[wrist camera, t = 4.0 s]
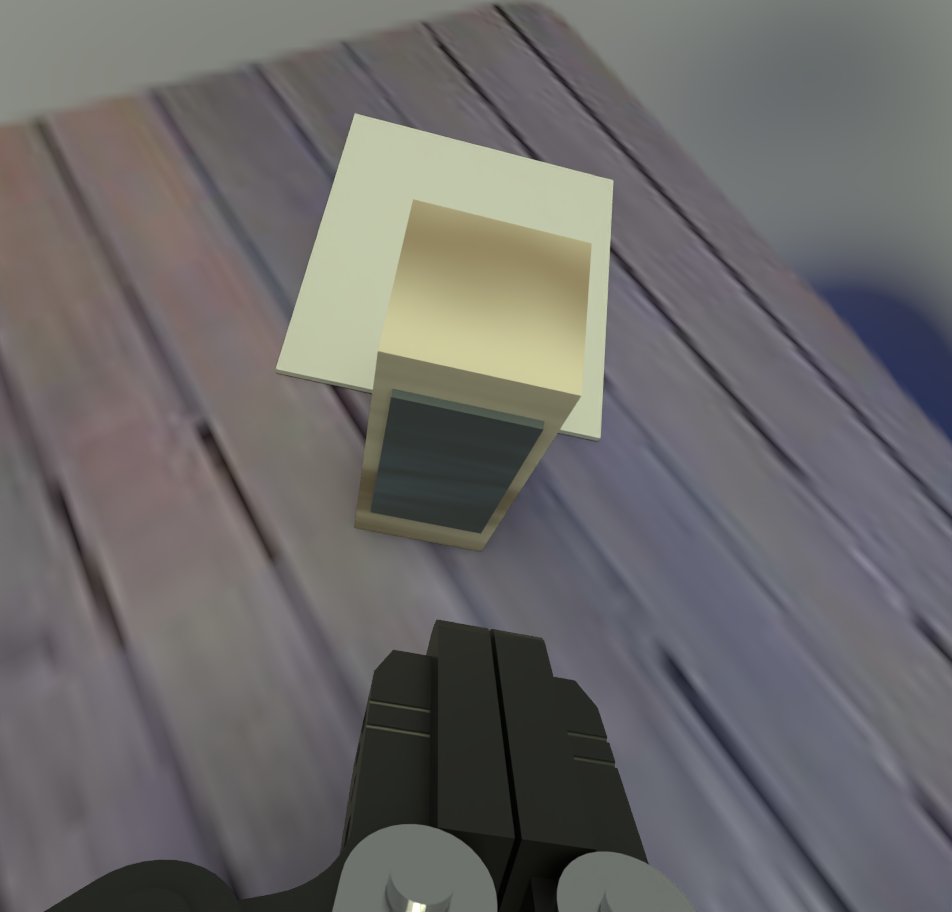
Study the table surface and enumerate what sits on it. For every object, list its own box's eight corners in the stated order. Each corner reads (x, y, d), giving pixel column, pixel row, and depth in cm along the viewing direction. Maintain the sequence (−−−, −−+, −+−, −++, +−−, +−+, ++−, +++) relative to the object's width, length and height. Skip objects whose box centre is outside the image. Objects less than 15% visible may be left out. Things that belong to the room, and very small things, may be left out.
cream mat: (598, 441, 31) (600, 438, 31) (276, 372, 29) (275, 369, 29) (611, 184, 38) (613, 180, 38) (354, 118, 37) (354, 113, 36)
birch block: (480, 557, 28) (580, 404, 17) (353, 533, 27) (375, 359, 16) (495, 440, 30) (591, 243, 20) (379, 416, 29) (413, 199, 19)
